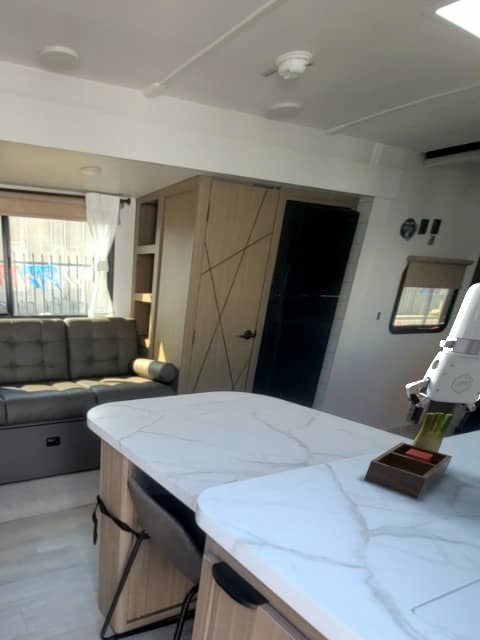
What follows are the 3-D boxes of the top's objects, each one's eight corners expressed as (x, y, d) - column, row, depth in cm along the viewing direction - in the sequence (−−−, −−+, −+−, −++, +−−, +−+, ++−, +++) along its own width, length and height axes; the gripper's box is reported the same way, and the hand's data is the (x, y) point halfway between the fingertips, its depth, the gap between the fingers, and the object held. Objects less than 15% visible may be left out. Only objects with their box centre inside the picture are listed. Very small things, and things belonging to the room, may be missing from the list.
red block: (405, 464, 93) (411, 448, 91) (425, 471, 90) (433, 454, 88) (398, 469, 90) (405, 452, 89) (420, 475, 87) (427, 459, 86)
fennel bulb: (432, 459, 97) (453, 412, 92) (437, 467, 93) (459, 418, 88) (403, 454, 99) (422, 407, 94) (406, 461, 95) (426, 413, 90)
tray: (394, 459, 96) (401, 441, 94) (444, 474, 90) (452, 456, 88) (363, 480, 86) (370, 460, 84) (416, 499, 79) (425, 478, 77)
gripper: (435, 347, 82) (403, 427, 89) (526, 353, 81) (486, 433, 88) (413, 341, 89) (384, 416, 96) (496, 347, 87) (461, 421, 95)
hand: (433, 424), depth 92 cm, fingers open, 9 cm apart
